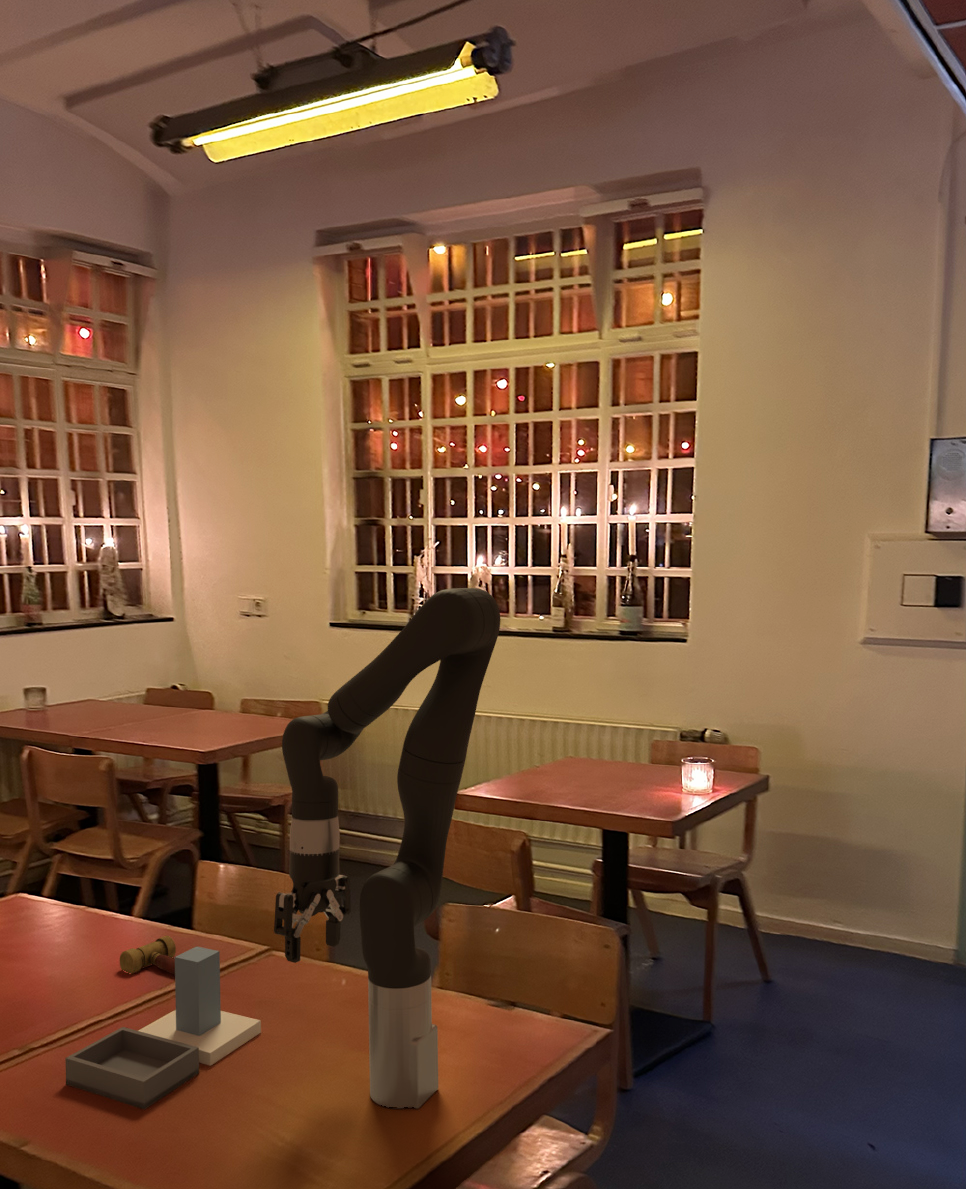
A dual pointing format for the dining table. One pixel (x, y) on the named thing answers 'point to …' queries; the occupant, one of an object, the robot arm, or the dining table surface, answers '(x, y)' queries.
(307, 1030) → the dining table surface
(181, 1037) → the bench board
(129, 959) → the gavel
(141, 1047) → the tray
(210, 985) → the tile block
